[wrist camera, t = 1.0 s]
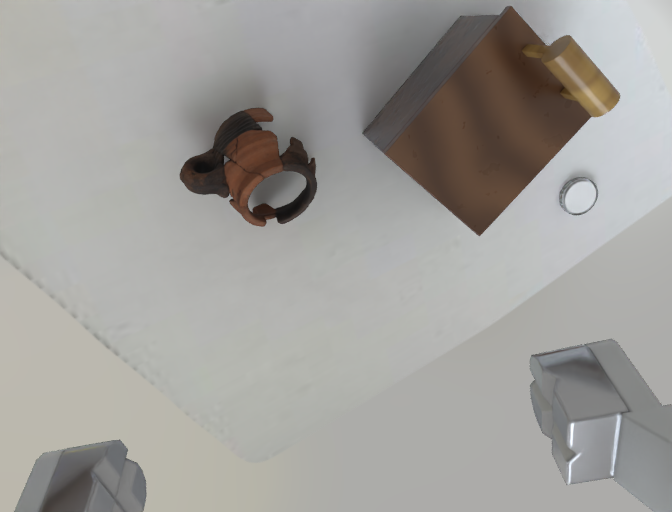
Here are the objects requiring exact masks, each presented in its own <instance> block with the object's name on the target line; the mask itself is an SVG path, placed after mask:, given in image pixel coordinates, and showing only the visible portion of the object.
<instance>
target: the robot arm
mask: <svg viewBox="0 0 672 512" xmlns="http://www.w3.org/2000/svg"><path fill="white" fill-rule="evenodd" d="M530 371H531V373H532V375H533V377H534V379H535V380H534V381H533V382H532V383H531V385H530V391H531V400H532V405H533V410H534V413H535V416H536V419H537V421H538V424H539V426H540V428H541V431H542V433H543V434H545V435H546V436H548V437H549V438H551V439H552V455H553V457H554V459H555V462H556V464H557V466H558V468H559V470H560V472H561V474H562V477H563V479H564V481H565V483H566V485H570V484H576V483H582V482H589V481H595V480H601V479H608V478H614V481H616V482H617V483H618V484H619V485H621V486H622V487H623V488H625V489H626V490H627V491H628V492H630V493H631V494H632V495H634V496H635V497H636V498H637V499H639V500H640V501H641V502H642V503H644V504H645V505H646V506H647V507H649V508H650V509H651V510H652V511H654V512H672V405H671V404H670V405H663V406H662V404H661V403H660V402H659V400H658V399H657V397H656V396H655V395H654V393H653V392H652V390H651V389H650V388H649V386H648V385H647V383H646V382H645V381H644V379H643V378H642V376H641V375H640V373H639V372H638V371H637V369H636V368H635V366H634V365H633V364H632V362H631V361H630V359H629V358H628V357H627V355H626V354H625V352H624V351H623V350H622V348H621V347H620V345H619V344H618V343H617V342H616V341H615V340H613V339H608V340H603V341H598V342H593V343H589V344H584V345H582V344H581V345H577V346H572V347H567V348H563V349H558V350H553V351H549V352H544V353H539V354H535V355H532V356H531V358H530ZM127 451H128V449H127V448H126V446H125V445H124V444H123V443H122V441H121V440H112V441H107V442H101V443H95V444H89V445H84V446H78V447H73V448H67V449H62V450H57V451H51V452H46V453H43V454H42V455H41V456H40V457H39V458H38V459H37V460H36V462H35V464H34V466H33V469H32V471H31V473H30V476H29V478H28V480H27V483H26V485H25V487H24V490H23V492H22V494H21V497H20V499H19V501H18V504H17V506H16V509H15V511H14V512H143V510H144V506H145V501H146V480H145V477H144V474H143V471H142V469H141V468H140V466H139V465H138V463H136V462H134V461H131V460H129V459H127V458H126V455H127Z"/></svg>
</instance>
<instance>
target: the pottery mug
mask: <svg viewBox="0 0 672 512" xmlns="http://www.w3.org/2000/svg"><path fill="white" fill-rule="evenodd" d="M272 121H273V116H272V115H271V114H270V113H269V112H268V111H267V110H265V109H263V108H251V109H247V110H244V111H240V112H238V113H236V114H234V115H232V116H230V117H229V118H228V119H227V120H225V121H224V122H223V123H222V125H221V126H220V128H219V130H218V131H217V133H216V136H215V141H214V146H213V149H210V150H209V151H208V152H206V153H204V154H201V155H198V156H195V157H192V158H190V159H189V160H187V161H186V162H185V164H184V166H183V167H182V169H181V173H180V179H181V181H182V182H183V183H184V184H185V186H186V187H187V188H188V189H189V190H190V191H192V192H194V193H197V194H203V195H206V194H217V195H219V196H221V197H223V198H226V197H228V196H229V193H230V195H231V197H233V199H231V200H230V201H229V202H230V204H231V205H232V206H233V207H234V208H235V209H236V210H237V211H238V212H239V213H240V214H242V216H243V218H244V219H245V220H246V221H248V222H249V223H251V224H253V225H256V226H262V227H263V226H265V225H266V220H267V219H272V218H276V217H277V221H278V223H280V224H285V223H287V222H289V221H291V220H293V219H294V218H296V217H297V216H299V215H300V214H301V213H302V212H304V211H305V209H306V208H307V207H308V206H309V204H310V203H311V202H312V200H313V199H314V196H315V193H316V190H317V182H316V178H315V170H316V164H315V158H311V161H310V163H309V164H308V156H307V153H306V151H305V150H304V148H303V144H302V142H301V141H299V140H298V139H296V138H294V137H291V139H290V146H289V147H288V148H287V150H286V151H285V152H284V153H283V154H282V155H281V156H279V149H278V141H277V136H276V135H275V134H274V133H273V132H271V131H263V130H262V128H261V127H260V126H259V125H258V124H257V123H256V122H272ZM224 156H226V157H227V158H228V159H230V160H229V161H228V162H226V163H225V165H224ZM282 171H294V172H298V173H300V174H302V175H304V176H305V178H306V181H307V184H306V188H305V189H304V190H303V191H302V192H301V194H300V195H299V196H298V197H297V198H296V199H295V200H294V201H293V202H291V203H289V204H287V205H285V206H282V207H279V208H276V209H274V208H272V207H271V206H269V205H268V204H261V205H258V206H256V207H254V208H253V213H252V212H251V211H250V210H249V208H248V199H249V197H250V194H251V193H252V191H253V190H254V188H255V187H256V186H257V185H258V184H259V183H260V182H261V181H263V180H264V179H265V178H267V177H269V176H271V175H274V174H276V173H279V172H282Z"/></svg>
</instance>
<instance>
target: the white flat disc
mask: <svg viewBox="0 0 672 512" xmlns="http://www.w3.org/2000/svg"><path fill="white" fill-rule="evenodd" d="M597 197H598V189H597V186H596V185H595V183H594V182H592V181H591V180H589V179H586V178H576V179H573V180H571V181H570V182H568V183H567V184H566V185H565V186H564V188H563V190H562V192H561V194H560V204H561V207H562V208H563V210H565V211H566V212H568V213H569V214H572V215H581V214H584V213H586V212H587V211H589V210H590V209H591V208H592V207H593V206H594V204H595V202H596V200H597Z"/></svg>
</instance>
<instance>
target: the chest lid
mask: <svg viewBox="0 0 672 512" xmlns="http://www.w3.org/2000/svg"><path fill="white" fill-rule="evenodd" d="M619 99H620V93H619V92H618V91H617V90H616V88H615V87H614V86H613V85H612V84H611V83H610V81H609V80H608V79H607V78H606V77H605V76H604V74H603V73H602V72H601V71H600V70H599V69H598V67H597V66H596V65H595V64H594V63H593V62H592V60H591V59H590V58H589V57H588V56H587V55H586V53H585V52H584V51H583V50H582V49H581V47H580V46H579V45H578V44H577V43H576V42H575V40H574V39H573V38H572V37H571V36H570V35H566V36H563V37H561V38H559V39H558V40H556V41H555V42H554V43H552V44H551V45H550V46H546V45H545V44H544V42H543V41H542V40H541V39H540V38H539V37H538V36H537V35H536V33H535V32H534V31H533V30H532V29H531V28H530V27H529V26H528V24H527V23H526V22H525V21H524V20H523V19H522V18H521V16H520V15H519V14H518V13H517V12H516V11H515V10H514V9H513V7H512V6H507V7H506V8H505V9H504V10H503V12H502V13H501V14H500V15H499V16H498V17H497V19H496V20H495V21H494V22H493V23H492V24H491V26H490V27H489V28H488V29H487V30H486V31H485V33H484V34H483V35H482V36H481V37H480V38H479V40H478V41H477V42H476V43H475V44H474V45H473V47H472V48H471V49H470V50H469V51H468V52H467V54H466V55H465V56H464V57H463V58H462V60H461V61H460V62H459V63H458V64H457V65H456V67H455V68H454V69H453V70H452V71H451V72H450V74H449V75H448V76H447V77H446V78H445V79H444V81H443V82H442V83H441V84H440V85H439V86H438V88H437V89H436V90H435V91H434V92H433V93H432V95H431V96H430V97H429V98H428V99H427V100H426V102H425V103H424V104H423V105H422V106H421V107H420V109H419V110H418V111H417V112H416V113H415V115H414V116H413V117H412V118H411V119H410V120H409V122H408V123H407V124H406V125H405V126H404V127H403V129H402V130H401V131H400V132H399V133H398V134H397V136H396V137H395V138H394V139H393V140H392V141H391V143H390V144H389V145H388V146H387V147H386V148H385V150H384V151H383V153H384V154H385V155H386V156H387V157H389V158H390V159H391V160H392V161H393V162H394V163H395V164H397V165H398V166H399V167H400V168H401V169H402V170H403V171H405V172H406V173H407V174H408V175H409V176H410V177H412V178H413V179H414V180H415V181H416V182H417V183H418V184H420V185H421V186H422V187H423V188H424V189H425V190H426V191H428V192H429V193H430V194H431V195H432V196H433V197H435V198H436V199H437V200H438V201H439V202H440V203H441V204H443V205H444V206H445V207H446V208H447V209H448V210H449V211H451V212H452V213H453V214H454V215H455V216H456V217H458V218H459V219H460V220H461V221H462V222H463V223H464V224H466V225H467V226H468V227H469V228H470V229H471V230H472V231H474V232H475V233H476V234H477V235H478V236H480V235H481V234H482V233H483V232H484V231H485V230H486V229H487V228H488V227H489V226H490V225H491V224H492V222H493V221H494V220H495V219H496V218H497V217H498V216H499V215H500V214H501V213H502V212H503V211H504V210H505V209H506V207H507V206H508V205H509V204H510V203H511V202H512V201H513V200H514V199H515V198H516V197H517V196H518V195H519V194H520V193H521V191H522V190H523V189H524V188H525V187H526V186H527V185H528V184H529V183H530V182H531V181H532V180H533V179H534V178H535V176H536V175H537V174H538V173H539V172H540V171H541V170H542V169H543V168H544V167H545V166H546V165H547V164H548V163H549V161H550V160H551V159H552V158H553V157H554V156H555V155H556V154H557V153H558V152H559V151H560V150H561V149H562V148H563V146H564V145H565V144H566V143H567V142H568V141H569V140H570V139H571V138H572V137H573V136H574V135H575V134H576V133H577V132H578V130H579V129H580V128H581V127H582V126H583V125H584V124H585V123H586V122H587V121H588V120H589V119H590V118H591V117H599V116H602V115H604V114H606V113H607V112H609V111H610V110H611V109H613V108H614V107H615V105H616V104H617V103H618V101H619Z"/></svg>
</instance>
